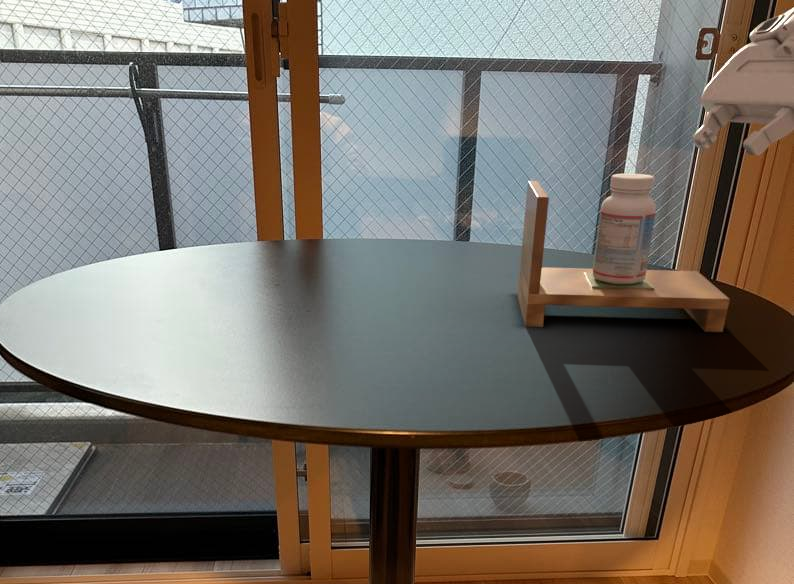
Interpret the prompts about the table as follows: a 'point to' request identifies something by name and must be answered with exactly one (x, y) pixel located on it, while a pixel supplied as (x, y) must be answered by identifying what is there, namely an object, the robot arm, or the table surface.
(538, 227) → the shelf
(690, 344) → the table surface
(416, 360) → the table surface
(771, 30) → the robot arm
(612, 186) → the pill bottle
